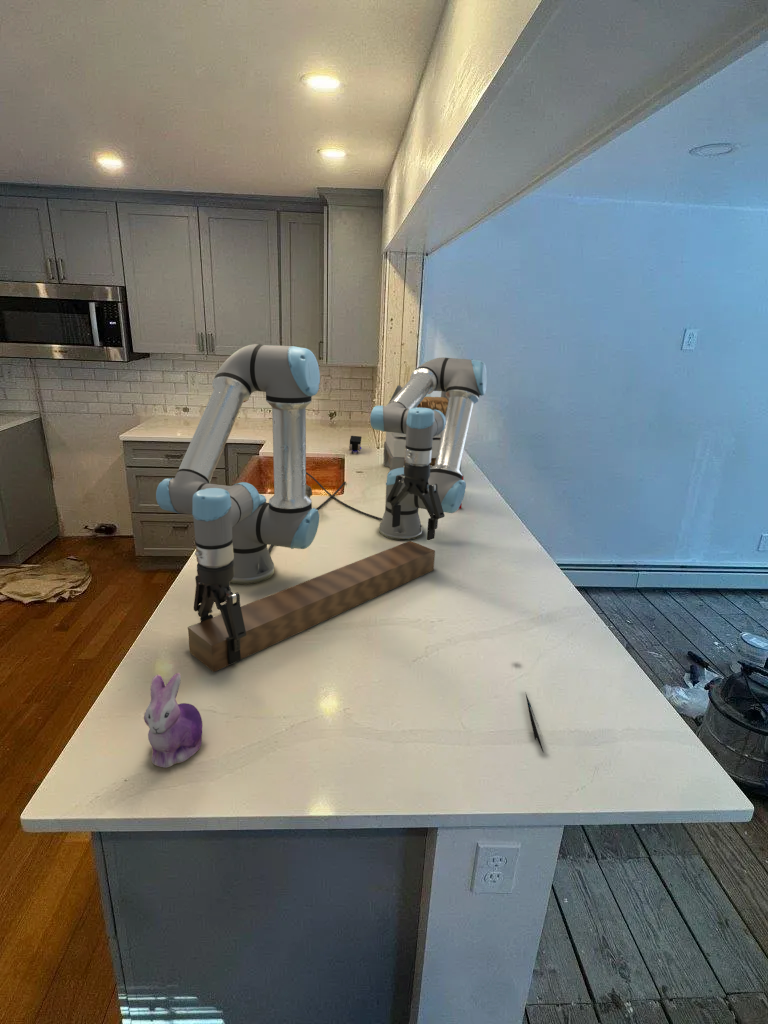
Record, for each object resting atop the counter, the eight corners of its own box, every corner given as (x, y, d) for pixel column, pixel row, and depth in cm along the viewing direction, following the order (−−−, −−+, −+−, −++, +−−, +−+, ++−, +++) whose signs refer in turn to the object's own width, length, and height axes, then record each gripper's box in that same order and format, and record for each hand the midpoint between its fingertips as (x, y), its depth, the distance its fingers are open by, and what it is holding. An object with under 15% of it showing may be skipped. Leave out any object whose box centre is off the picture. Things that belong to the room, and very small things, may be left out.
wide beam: (408, 559, 180) (410, 540, 177) (433, 570, 173) (435, 550, 171) (189, 652, 127) (187, 627, 125) (213, 672, 121) (211, 645, 119)
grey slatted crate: (382, 463, 289) (386, 382, 275) (445, 464, 293) (451, 384, 279) (390, 482, 257) (394, 392, 243) (460, 483, 261) (468, 394, 247)
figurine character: (361, 457, 304) (361, 447, 317) (361, 444, 301) (362, 434, 314) (348, 456, 304) (349, 447, 317) (348, 443, 300) (349, 434, 314)
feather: (517, 669, 129) (522, 662, 128) (543, 757, 102) (550, 750, 102) (511, 665, 129) (516, 659, 128) (535, 752, 102) (542, 745, 101)
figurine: (152, 779, 93) (143, 704, 88) (145, 738, 102) (136, 668, 97) (210, 760, 98) (205, 688, 92) (199, 723, 106) (193, 655, 101)
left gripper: (172, 549, 125) (180, 637, 132) (229, 585, 110) (234, 681, 118) (203, 541, 130) (209, 625, 137) (261, 573, 115) (264, 666, 123)
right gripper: (377, 456, 167) (374, 523, 174) (444, 474, 151) (438, 548, 158) (394, 453, 172) (390, 518, 179) (460, 470, 156) (454, 541, 163)
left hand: (221, 651), depth 127 cm, fingers closed on wide beam, 10 cm apart
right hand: (412, 532), depth 169 cm, fingers open, 13 cm apart
